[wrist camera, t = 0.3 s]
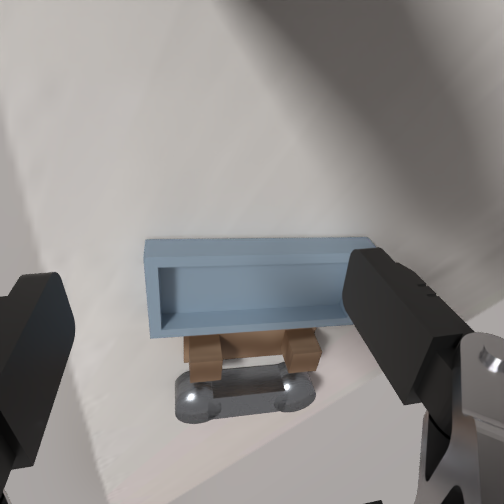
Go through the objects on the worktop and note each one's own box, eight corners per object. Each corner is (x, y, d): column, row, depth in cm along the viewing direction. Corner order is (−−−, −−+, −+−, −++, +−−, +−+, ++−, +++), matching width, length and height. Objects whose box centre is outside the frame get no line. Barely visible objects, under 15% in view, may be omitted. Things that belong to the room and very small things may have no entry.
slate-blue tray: (145, 239, 28) (143, 257, 26) (367, 237, 32) (380, 252, 30) (151, 318, 33) (150, 338, 31) (343, 307, 37) (353, 324, 35)
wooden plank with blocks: (183, 323, 34) (184, 356, 31) (315, 315, 37) (329, 344, 34) (183, 356, 37) (184, 389, 34) (306, 346, 40) (318, 376, 37)
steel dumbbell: (174, 371, 38) (174, 400, 36) (310, 359, 42) (319, 384, 39) (175, 397, 41) (175, 426, 38) (302, 384, 45) (311, 409, 42)
